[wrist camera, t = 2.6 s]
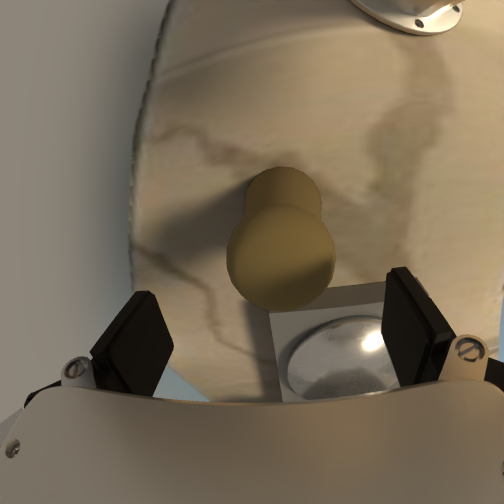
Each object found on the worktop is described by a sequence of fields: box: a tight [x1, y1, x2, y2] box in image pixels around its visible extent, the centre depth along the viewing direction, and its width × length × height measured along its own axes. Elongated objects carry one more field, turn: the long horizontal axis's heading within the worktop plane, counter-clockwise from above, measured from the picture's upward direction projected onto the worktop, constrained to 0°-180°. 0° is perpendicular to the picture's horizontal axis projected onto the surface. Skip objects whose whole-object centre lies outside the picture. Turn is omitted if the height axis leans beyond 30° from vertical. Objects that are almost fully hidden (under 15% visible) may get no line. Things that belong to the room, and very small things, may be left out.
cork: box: [227, 167, 336, 312], centre depth 17 cm, size 6×6×11 cm
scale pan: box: [288, 316, 398, 400], centre depth 24 cm, size 12×12×1 cm
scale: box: [269, 277, 429, 402], centre depth 23 cm, size 20×14×12 cm
